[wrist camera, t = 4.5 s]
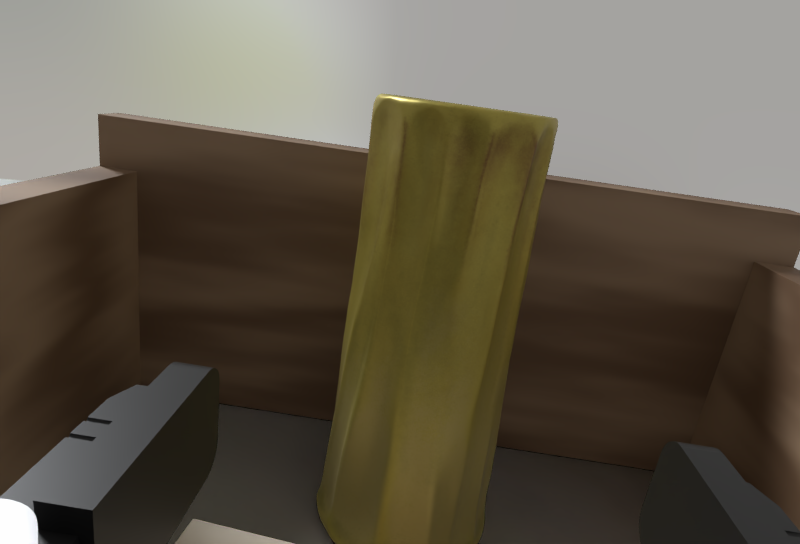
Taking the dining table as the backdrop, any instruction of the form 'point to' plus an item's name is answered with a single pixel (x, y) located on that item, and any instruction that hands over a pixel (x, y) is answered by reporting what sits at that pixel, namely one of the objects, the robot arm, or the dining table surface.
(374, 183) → the vase
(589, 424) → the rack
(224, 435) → the dining table surface
